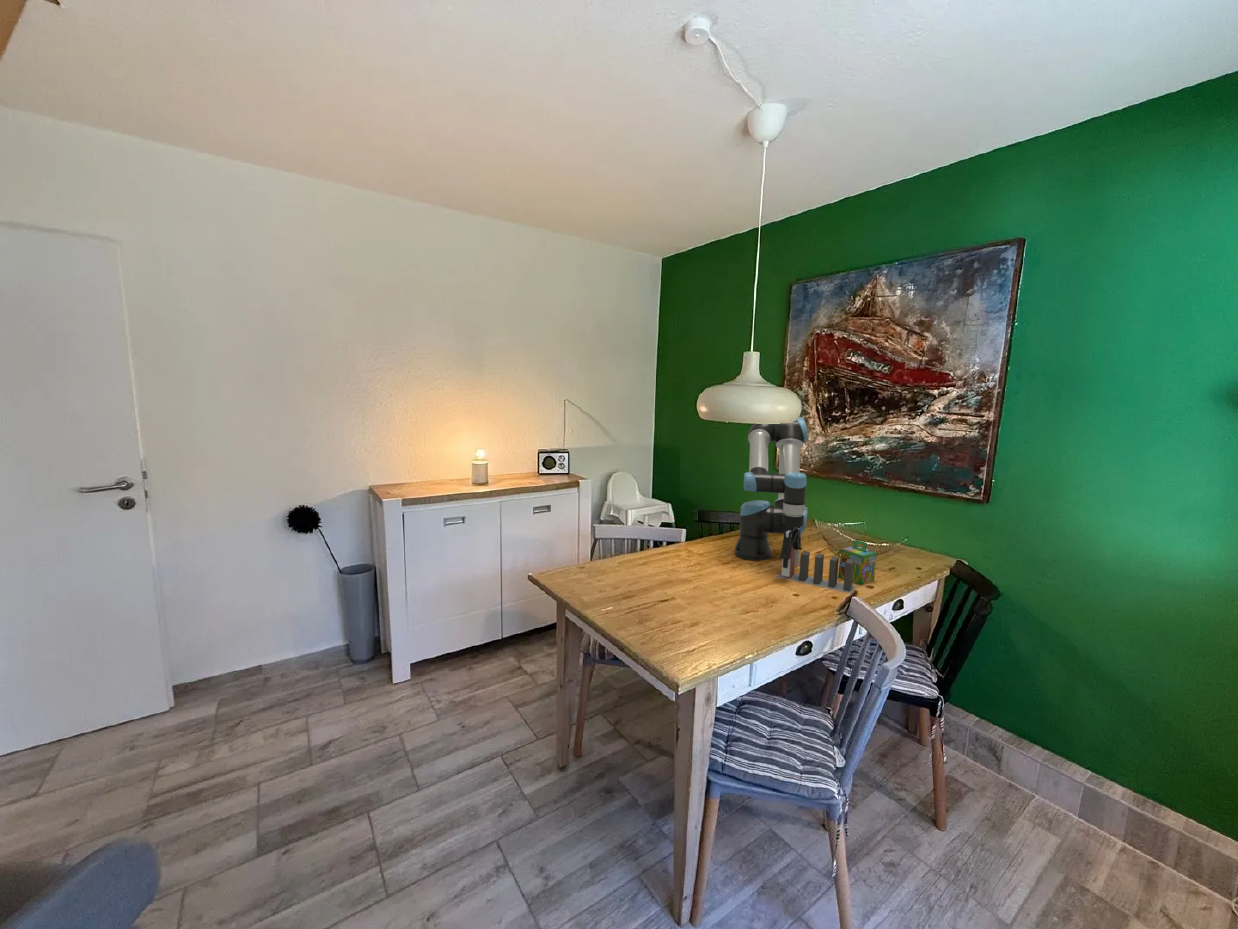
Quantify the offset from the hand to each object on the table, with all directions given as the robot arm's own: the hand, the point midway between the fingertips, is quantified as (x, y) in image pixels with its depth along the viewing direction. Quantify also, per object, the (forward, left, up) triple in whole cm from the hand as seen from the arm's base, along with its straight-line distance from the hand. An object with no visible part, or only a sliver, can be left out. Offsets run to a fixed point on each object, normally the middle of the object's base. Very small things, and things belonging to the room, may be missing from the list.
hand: (790, 570), depth 178 cm
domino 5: (+20, 0, -2) cm, 20 cm away
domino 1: (0, 0, -2) cm, 2 cm away
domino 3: (+10, 0, -2) cm, 10 cm away
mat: (+9, 0, -2) cm, 9 cm away
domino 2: (+5, 0, -2) cm, 5 cm away
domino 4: (+15, 0, -2) cm, 15 cm away
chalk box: (+21, +11, -3) cm, 24 cm away
